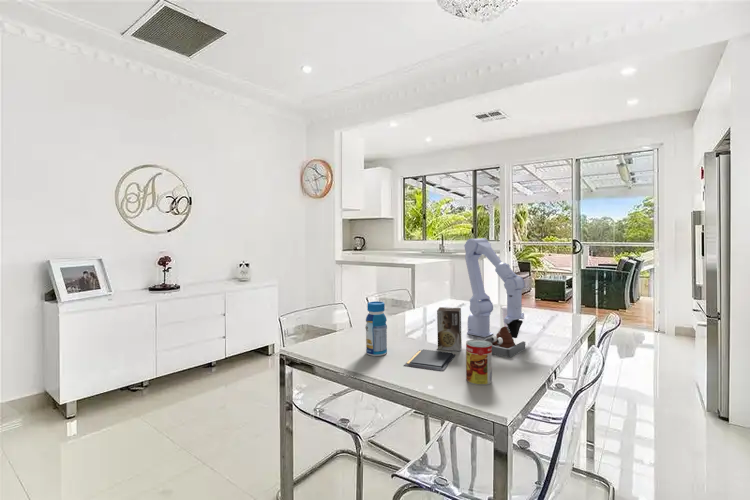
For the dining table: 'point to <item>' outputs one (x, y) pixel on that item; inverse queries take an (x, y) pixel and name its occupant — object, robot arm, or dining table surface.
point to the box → (505, 351)
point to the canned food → (479, 362)
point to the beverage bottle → (376, 329)
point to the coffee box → (449, 328)
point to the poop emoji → (503, 338)
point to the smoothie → (504, 314)
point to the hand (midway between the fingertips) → (514, 337)
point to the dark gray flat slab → (430, 360)
